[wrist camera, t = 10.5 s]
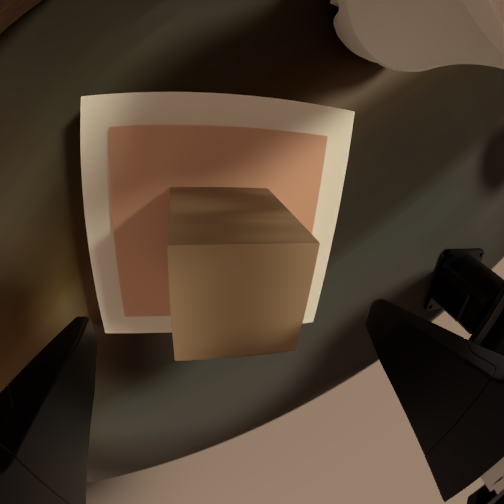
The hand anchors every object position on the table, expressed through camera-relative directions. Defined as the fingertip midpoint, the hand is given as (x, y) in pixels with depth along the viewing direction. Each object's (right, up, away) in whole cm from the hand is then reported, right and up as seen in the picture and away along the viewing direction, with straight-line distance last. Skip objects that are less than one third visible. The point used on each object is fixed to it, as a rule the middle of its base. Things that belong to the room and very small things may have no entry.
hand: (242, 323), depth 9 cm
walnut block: (-1, +3, +6) cm, 7 cm away
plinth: (-2, +4, +9) cm, 10 cm away
